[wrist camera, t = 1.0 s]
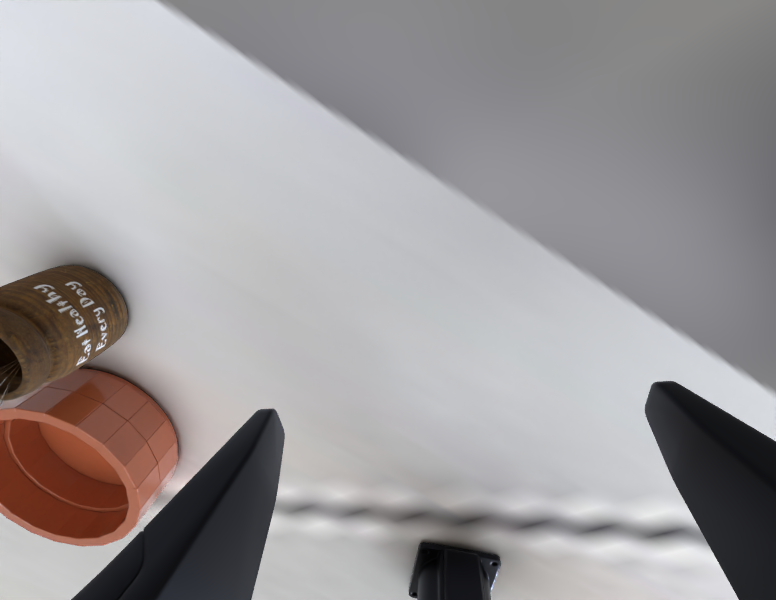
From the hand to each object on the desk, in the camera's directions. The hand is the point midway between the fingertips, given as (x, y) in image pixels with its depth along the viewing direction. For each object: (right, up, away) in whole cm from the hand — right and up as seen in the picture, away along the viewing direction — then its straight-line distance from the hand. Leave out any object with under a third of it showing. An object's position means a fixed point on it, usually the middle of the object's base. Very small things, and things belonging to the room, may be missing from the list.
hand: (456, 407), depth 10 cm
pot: (-23, -7, +21) cm, 32 cm away
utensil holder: (-21, +3, +17) cm, 27 cm away
